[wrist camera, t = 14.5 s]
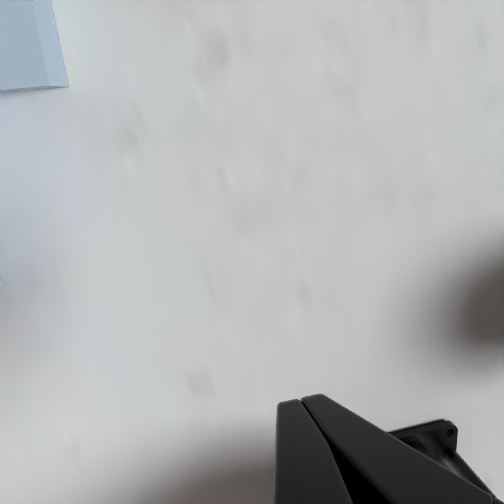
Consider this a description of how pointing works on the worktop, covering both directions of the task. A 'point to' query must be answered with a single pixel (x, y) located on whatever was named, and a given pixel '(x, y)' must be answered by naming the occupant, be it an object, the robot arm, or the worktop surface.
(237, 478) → the worktop surface
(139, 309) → the worktop surface
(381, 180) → the worktop surface
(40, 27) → the t block
